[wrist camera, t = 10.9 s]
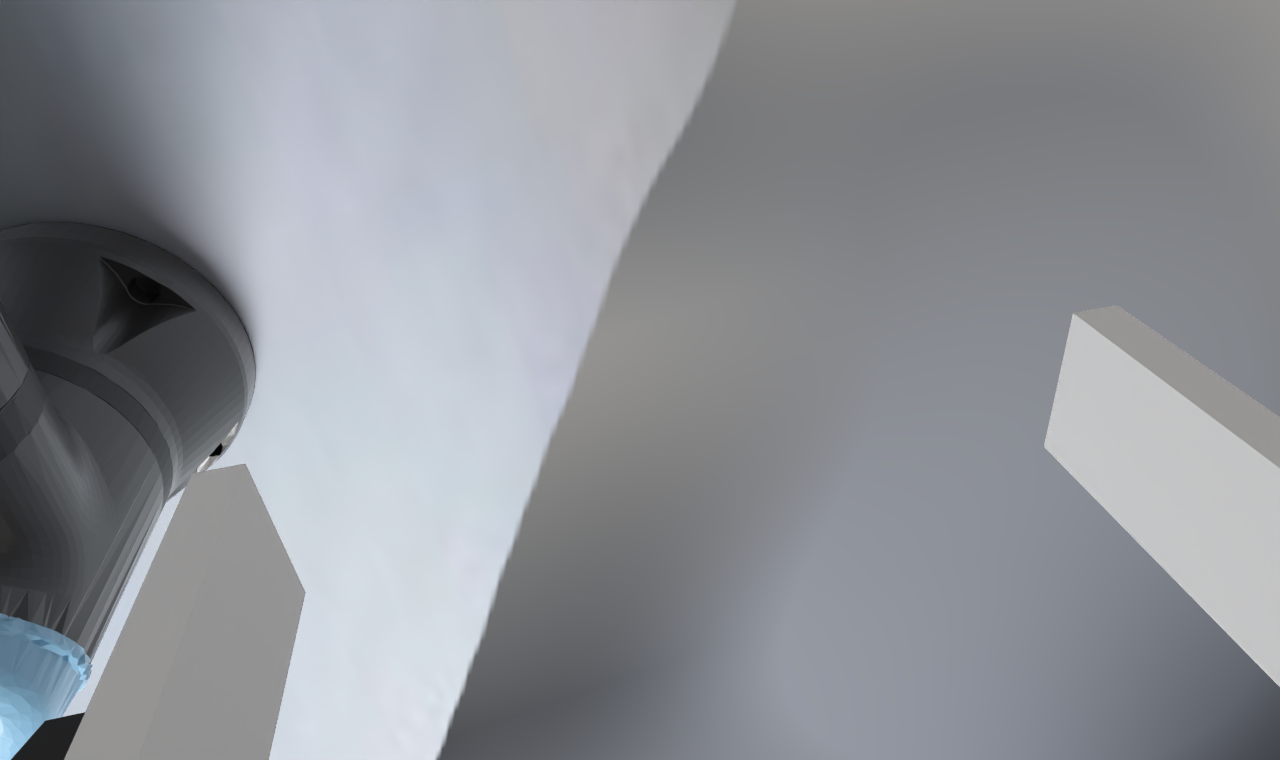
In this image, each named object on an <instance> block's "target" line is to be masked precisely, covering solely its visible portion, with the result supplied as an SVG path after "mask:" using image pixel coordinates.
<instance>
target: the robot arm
mask: <svg viewBox="0 0 1280 760" xmlns="http://www.w3.org/2000/svg"><path fill="white" fill-rule="evenodd" d="M254 387H255V363H254V357H253V352H252V348H251V345H250V342H249V339H248V337H247V334H246V332H245V330H244V328H243V326H242V323H241V322H240V320H239V318H238V317H237V315H236V313H235V312H234V311H233V309H232V308H231V306H230V305H229V304H228V302H227V301H226V300H225V299H224V297H223V296H222V295H221V294H220V293H219V292H218V291H217V290H216V289H215V288H214V287H213V286H212V285H211V284H210V283H209V282H208V281H207V280H206V279H205V278H204V277H203V276H201V275H200V274H199V273H198V272H197V271H195V270H194V269H193V268H191V267H190V266H189V265H187V264H186V263H184V262H183V261H181V260H180V259H178V258H177V257H175V256H173V255H171V254H170V253H168V252H166V251H164V250H162V249H160V248H158V247H157V246H155V245H152V244H150V243H148V242H146V241H143V240H141V239H138V238H136V237H133V236H130V235H127V234H124V233H121V232H118V231H114V230H110V229H106V228H102V227H96V226H91V225H84V224H76V223H35V224H27V225H21V226H16V227H11V228H8V229H4V230H1V231H0V760H269V756H270V751H271V747H272V742H273V737H274V733H275V728H276V724H277V719H278V715H279V710H280V706H281V701H282V697H283V692H284V688H285V683H286V678H287V674H288V669H289V665H290V660H291V656H292V651H293V647H294V642H295V638H296V633H297V629H298V624H299V619H300V615H301V610H302V606H303V601H304V597H305V591H304V588H303V586H302V584H301V582H300V580H299V578H298V576H297V573H296V571H295V569H294V567H293V565H292V563H291V560H290V558H289V556H288V554H287V552H286V550H285V548H284V545H283V543H282V541H281V539H280V537H279V535H278V532H277V530H276V528H275V526H274V524H273V522H272V520H271V517H270V515H269V513H268V511H267V509H266V507H265V504H264V502H263V500H262V498H261V496H260V494H259V492H258V489H257V487H256V485H255V483H254V481H253V479H252V477H251V474H250V472H249V470H248V468H247V466H246V464H241V465H236V466H230V467H225V468H219V469H214V470H208V471H205V470H207V469H208V468H209V467H210V466H212V465H213V464H214V463H215V462H216V461H217V460H218V459H219V458H220V457H221V456H222V455H223V454H224V453H225V452H226V450H227V449H228V448H229V446H230V445H231V444H232V442H233V441H234V439H235V438H236V436H237V434H238V432H239V430H240V428H241V426H242V423H243V421H244V418H245V416H246V414H247V411H248V409H249V406H250V404H251V400H252V397H253V393H254ZM1044 447H1045V448H1046V449H1047V450H1048V451H1049V452H1050V453H1051V454H1052V455H1053V456H1054V457H1055V458H1056V459H1057V460H1058V461H1059V462H1060V463H1061V464H1062V465H1063V466H1064V467H1065V468H1066V469H1067V471H1068V472H1069V473H1070V474H1071V475H1072V476H1074V478H1075V479H1076V480H1077V481H1078V482H1079V483H1080V484H1081V485H1082V486H1084V488H1085V489H1086V490H1087V491H1088V492H1089V493H1090V494H1091V495H1092V496H1093V497H1094V498H1095V499H1096V500H1097V501H1098V502H1099V503H1100V504H1101V505H1102V506H1103V507H1104V508H1105V509H1106V510H1107V511H1108V512H1109V513H1110V514H1111V515H1112V516H1113V517H1114V518H1115V519H1116V520H1117V522H1118V523H1119V524H1121V526H1122V527H1123V528H1124V529H1125V530H1126V531H1127V532H1128V533H1129V534H1130V535H1131V536H1132V537H1133V538H1134V539H1135V540H1136V541H1137V542H1138V543H1139V544H1140V545H1141V546H1142V547H1143V548H1144V549H1145V550H1146V551H1147V552H1148V553H1149V554H1150V555H1151V556H1152V557H1153V558H1154V559H1155V560H1156V561H1157V562H1158V563H1159V564H1160V565H1161V566H1162V567H1163V568H1164V569H1165V570H1166V571H1167V572H1168V573H1169V574H1170V575H1171V577H1172V578H1173V579H1174V580H1175V581H1176V582H1177V583H1178V584H1179V585H1180V586H1181V587H1182V588H1183V589H1184V590H1185V591H1186V592H1187V593H1188V594H1189V595H1190V596H1191V597H1192V598H1193V599H1194V600H1195V601H1196V602H1197V603H1198V604H1199V605H1200V606H1201V607H1202V608H1203V609H1204V610H1205V611H1206V612H1207V613H1208V614H1209V615H1210V616H1211V617H1212V618H1213V619H1214V620H1215V621H1216V622H1217V623H1218V625H1219V626H1220V627H1221V628H1222V629H1224V631H1225V632H1226V633H1227V634H1228V635H1230V636H1231V638H1232V639H1233V640H1234V641H1235V642H1236V643H1237V644H1238V645H1239V646H1240V647H1241V648H1242V649H1243V650H1244V651H1245V652H1246V653H1247V654H1248V655H1249V656H1250V657H1251V658H1252V659H1253V660H1254V661H1255V662H1256V663H1257V664H1258V665H1259V666H1260V667H1261V668H1262V669H1263V670H1264V671H1265V672H1266V673H1267V675H1269V677H1270V678H1272V680H1273V681H1274V682H1275V683H1276V684H1277V685H1278V686H1279V687H1280V417H1278V416H1277V415H1276V414H1274V413H1273V412H1271V411H1270V410H1268V409H1267V408H1265V407H1264V406H1262V405H1261V404H1260V403H1258V402H1256V401H1255V400H1254V399H1252V398H1251V397H1249V396H1248V395H1246V394H1245V393H1244V392H1242V391H1241V390H1239V389H1238V388H1236V387H1235V386H1233V385H1232V384H1230V383H1229V382H1228V381H1226V380H1225V379H1223V378H1222V377H1220V376H1219V375H1217V374H1216V373H1215V372H1213V371H1212V370H1210V369H1209V368H1207V367H1206V366H1204V365H1203V364H1201V363H1200V362H1199V361H1197V360H1196V359H1194V358H1193V357H1191V356H1190V355H1188V354H1187V353H1185V352H1184V351H1183V350H1181V349H1180V348H1178V347H1177V346H1175V345H1174V344H1172V343H1171V342H1169V341H1168V340H1167V339H1165V338H1164V337H1162V336H1161V335H1159V334H1158V333H1156V332H1155V331H1153V330H1152V329H1151V328H1149V327H1148V326H1146V325H1145V324H1143V323H1142V322H1140V321H1139V320H1137V319H1136V318H1135V317H1133V316H1132V315H1130V314H1129V313H1127V312H1126V311H1124V310H1123V309H1122V308H1120V307H1119V306H1117V305H1115V306H1111V307H1104V308H1099V309H1093V310H1088V311H1083V312H1077V313H1073V316H1072V321H1071V325H1070V330H1069V334H1068V339H1067V344H1066V348H1065V353H1064V358H1063V362H1062V367H1061V371H1060V376H1059V380H1058V385H1057V390H1056V395H1055V399H1054V404H1053V408H1052V413H1051V417H1050V422H1049V426H1048V431H1047V436H1046V441H1045V445H1044ZM185 487H186V488H185ZM183 488H185V490H184V493H183V495H182V497H181V499H180V502H179V504H178V506H177V508H176V511H175V513H174V515H173V517H172V519H171V522H170V524H169V526H168V528H167V531H166V533H165V535H164V537H163V540H162V542H161V544H160V546H159V549H158V551H157V553H156V555H155V557H154V560H153V562H152V564H151V566H150V569H149V571H148V573H147V575H146V578H145V580H144V582H143V584H142V587H141V589H140V591H139V593H138V596H137V598H136V600H135V602H134V604H133V607H132V609H131V611H130V613H129V616H128V618H127V620H126V622H125V625H124V627H123V629H122V631H121V634H120V636H119V638H118V640H117V642H116V645H115V647H114V649H113V651H112V654H111V656H110V658H109V660H108V663H107V665H106V667H105V669H104V672H103V674H102V676H101V678H100V680H99V683H98V685H97V687H96V689H95V692H94V694H93V696H92V698H91V701H90V703H89V705H88V707H87V710H86V712H85V713H80V714H75V715H70V716H66V717H62V716H63V714H64V712H65V711H66V709H67V707H68V706H69V704H70V703H71V701H72V699H73V698H74V696H75V694H76V693H77V692H79V691H80V690H81V689H82V688H83V687H84V686H85V684H86V682H87V681H88V679H89V676H90V673H91V667H92V665H91V661H92V659H93V657H94V655H95V653H96V651H97V648H98V646H99V644H100V642H101V640H102V637H103V635H104V633H105V631H106V629H107V627H108V624H109V622H110V620H111V618H112V616H113V614H114V611H115V609H116V607H117V605H118V603H119V601H120V599H121V597H122V594H123V592H124V590H125V588H126V586H127V584H128V582H129V580H130V577H131V575H132V573H133V571H134V569H135V567H136V565H137V563H138V560H139V558H140V556H141V554H142V552H143V550H144V548H145V546H146V543H147V541H148V539H149V537H150V535H151V533H152V531H153V529H154V526H155V524H156V522H157V520H158V517H159V515H160V513H161V511H162V509H163V507H164V505H165V503H166V502H167V501H169V500H170V499H171V498H172V497H174V496H175V495H176V494H177V493H178V492H180V491H181V490H182V489H183Z"/></svg>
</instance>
